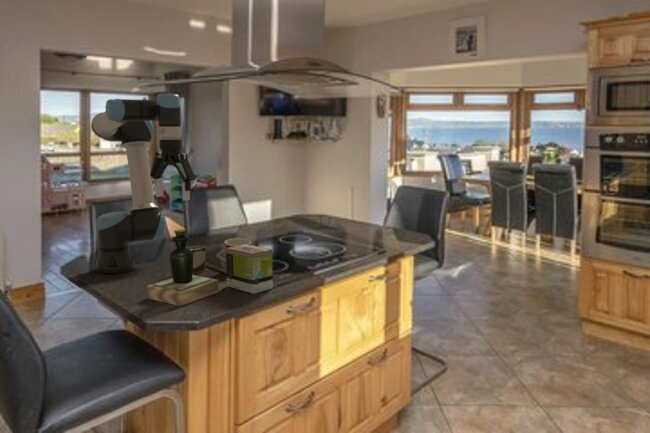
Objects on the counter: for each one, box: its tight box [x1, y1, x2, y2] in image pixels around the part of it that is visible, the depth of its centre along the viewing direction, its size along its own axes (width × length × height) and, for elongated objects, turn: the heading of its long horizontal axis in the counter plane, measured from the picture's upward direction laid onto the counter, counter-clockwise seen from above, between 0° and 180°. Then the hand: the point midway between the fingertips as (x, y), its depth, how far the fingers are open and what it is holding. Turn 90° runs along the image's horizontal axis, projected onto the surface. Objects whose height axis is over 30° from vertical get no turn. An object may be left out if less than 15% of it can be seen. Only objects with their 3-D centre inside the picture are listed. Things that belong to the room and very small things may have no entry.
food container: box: [185, 245, 208, 275], centre depth 221 cm, size 12×6×10 cm, turn 141°
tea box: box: [225, 244, 274, 294], centre depth 200 cm, size 15×10×15 cm, turn 48°
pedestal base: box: [146, 274, 220, 307], centre depth 192 cm, size 16×18×5 cm
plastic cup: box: [224, 237, 252, 249], centre depth 224 cm, size 11×11×12 cm
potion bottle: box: [169, 229, 194, 284], centre depth 190 cm, size 8×8×18 cm
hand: (172, 198), depth 197 cm, fingers open, 13 cm apart
